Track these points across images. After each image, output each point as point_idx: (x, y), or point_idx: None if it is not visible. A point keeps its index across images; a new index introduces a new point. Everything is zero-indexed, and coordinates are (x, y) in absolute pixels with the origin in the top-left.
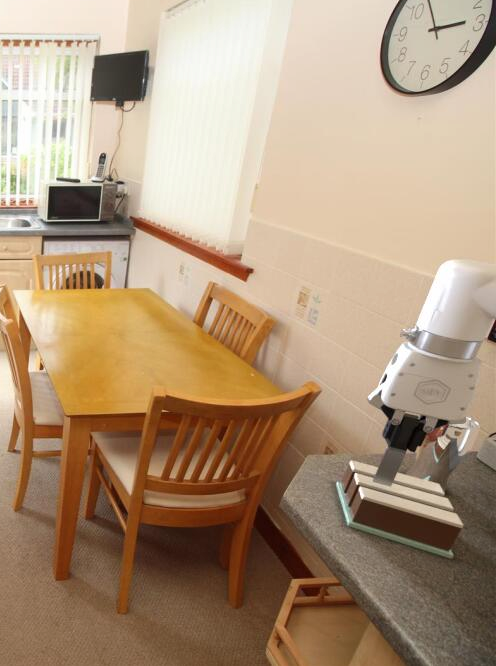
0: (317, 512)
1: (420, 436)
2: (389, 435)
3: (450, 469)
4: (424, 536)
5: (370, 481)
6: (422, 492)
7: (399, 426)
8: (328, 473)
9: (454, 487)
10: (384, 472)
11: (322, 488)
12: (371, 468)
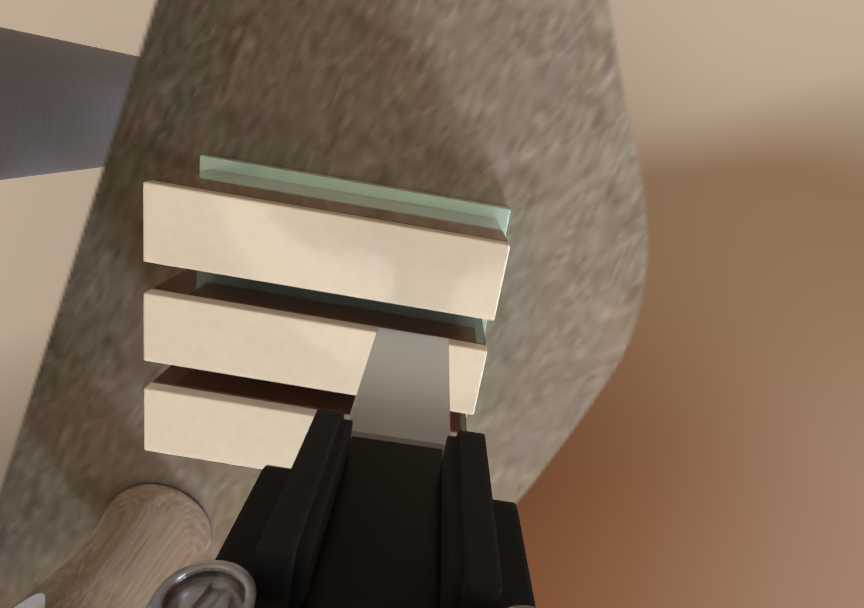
0: (593, 248)
1: (288, 508)
2: (495, 517)
3: (67, 566)
4: (280, 186)
5: None
6: (233, 366)
7: (484, 591)
8: None
9: (73, 535)
10: (421, 361)
11: (519, 393)
12: None
